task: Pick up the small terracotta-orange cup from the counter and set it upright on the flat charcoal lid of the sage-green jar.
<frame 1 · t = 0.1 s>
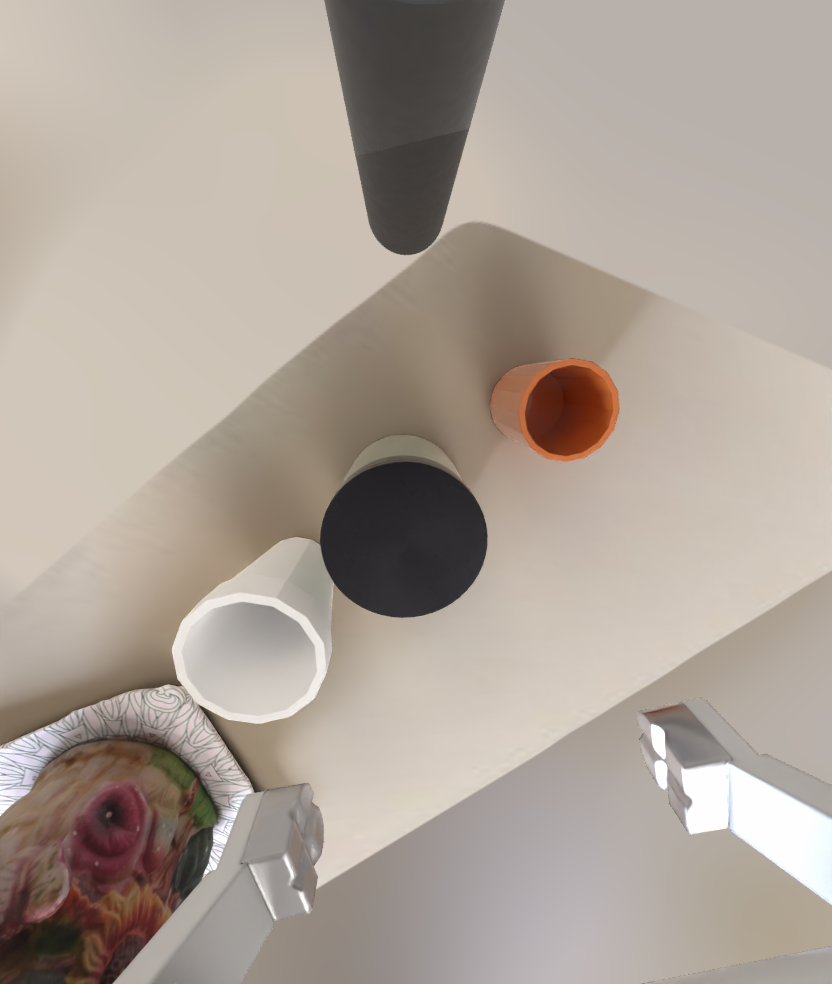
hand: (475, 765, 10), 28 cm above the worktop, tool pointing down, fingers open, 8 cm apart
jar lid: (404, 540, 26), point 12 cm above the worktop, screwed on, not yet turned
cup: (527, 403, 35), on the worktop
jar: (403, 491, 37), on the worktop
foam cup: (299, 568, 39), on the worktop
cookie jar: (140, 792, 45), on the worktop
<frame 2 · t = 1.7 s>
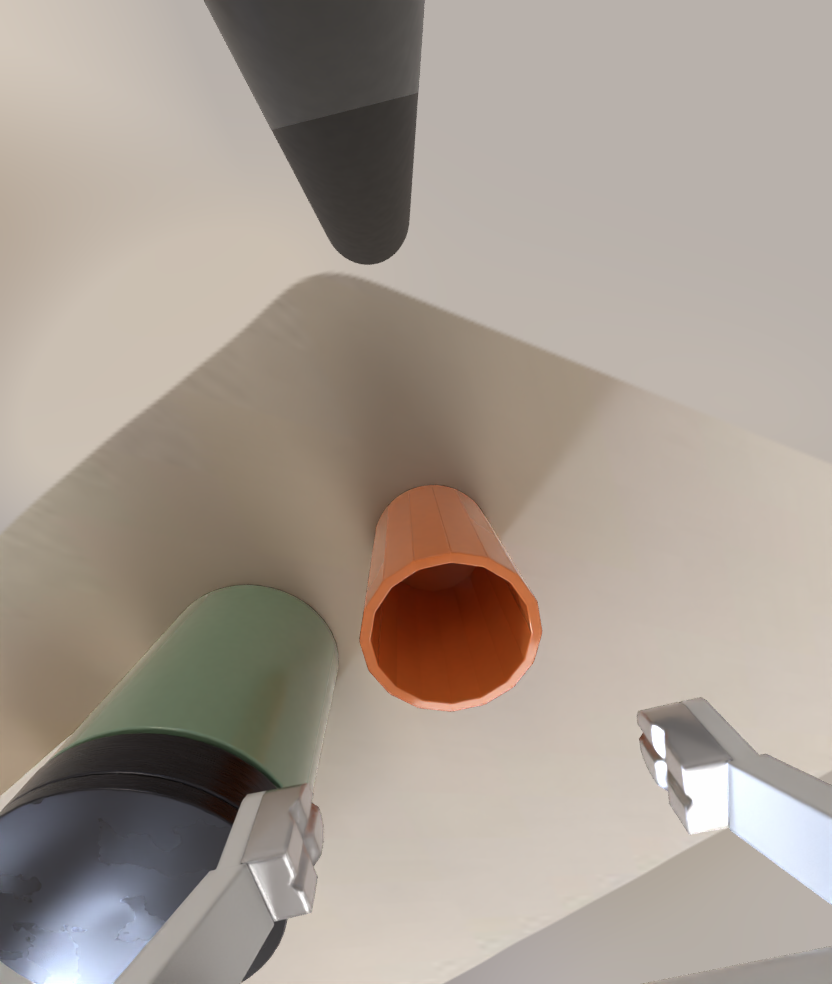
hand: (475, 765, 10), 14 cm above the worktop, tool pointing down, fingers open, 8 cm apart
jar lid: (137, 891, 14), point 12 cm above the worktop, screwed on, not yet turned
cup: (432, 539, 23), on the worktop
jar: (254, 659, 25), on the worktop
foam cup: (116, 758, 27), on the worktop
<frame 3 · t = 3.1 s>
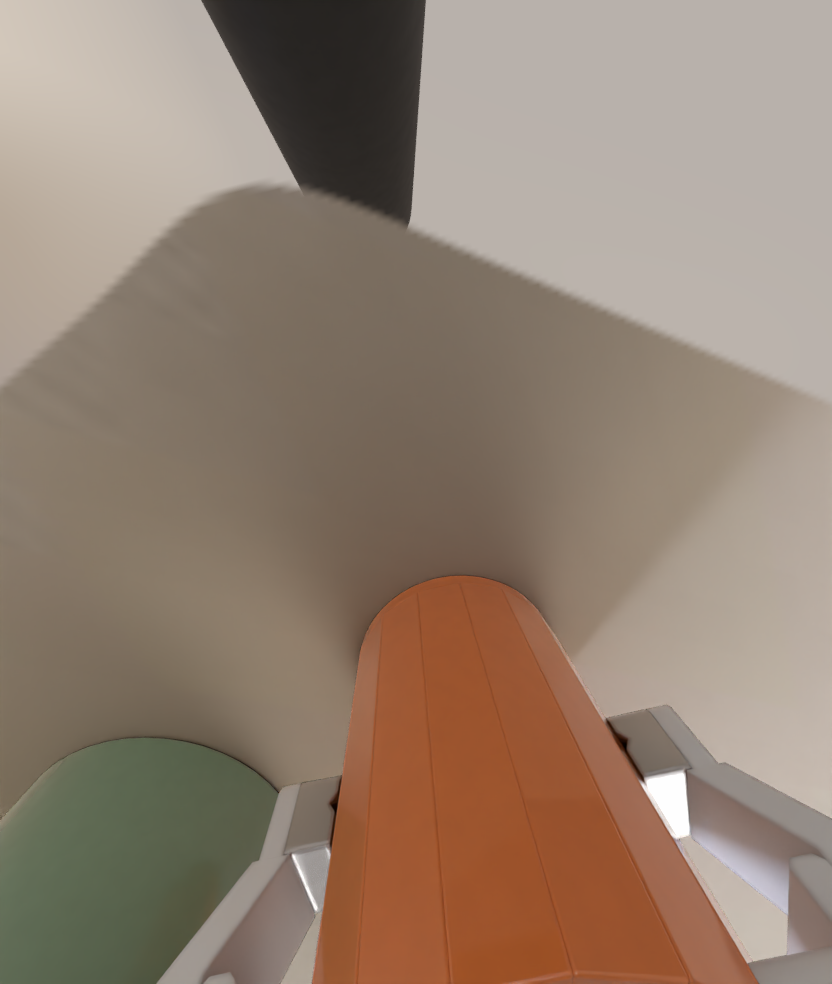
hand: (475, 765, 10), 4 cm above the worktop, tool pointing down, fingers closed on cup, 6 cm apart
cup: (457, 663, 14), on the worktop, touching gripper
jar: (163, 846, 15), on the worktop
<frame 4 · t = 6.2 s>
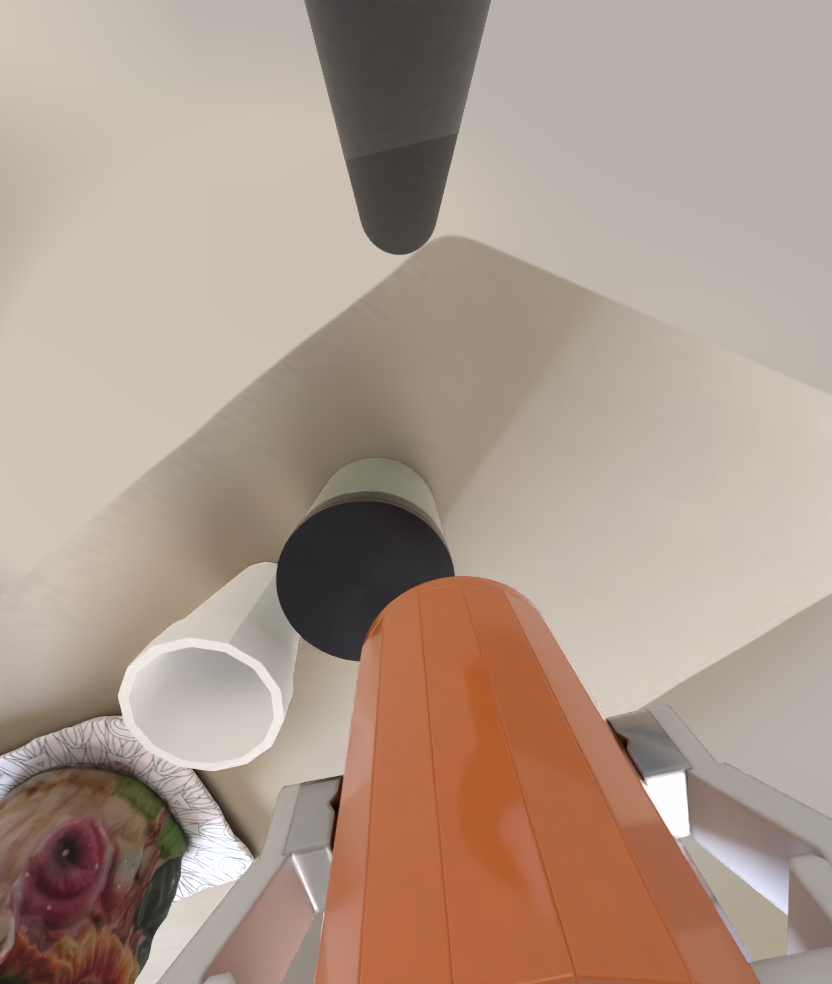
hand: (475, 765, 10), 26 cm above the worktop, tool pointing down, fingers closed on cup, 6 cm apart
jar lid: (366, 581, 24), point 12 cm above the worktop, screwed on, not yet turned
cup: (457, 663, 14), point 22 cm above the worktop, touching gripper
jar: (377, 515, 35), on the worktop
foam cup: (270, 593, 37), on the worktop
cookie jar: (108, 818, 43), on the worktop
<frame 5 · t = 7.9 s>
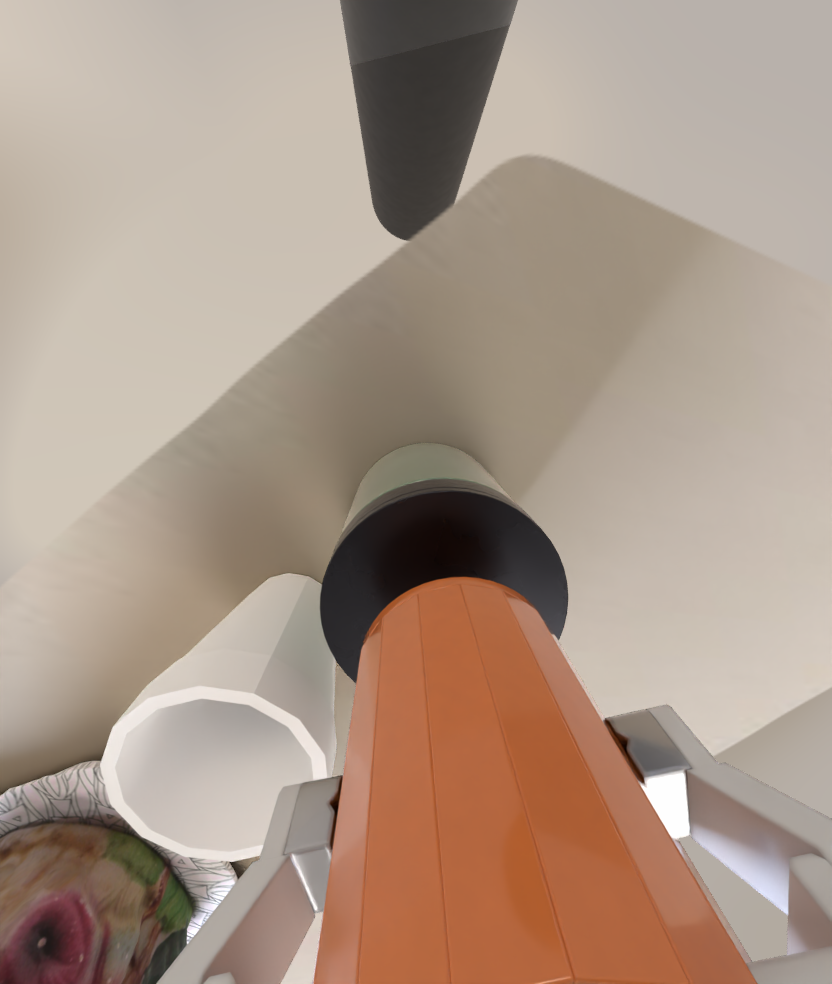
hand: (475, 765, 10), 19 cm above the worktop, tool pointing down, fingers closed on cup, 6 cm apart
jar lid: (443, 604, 17), point 12 cm above the worktop, screwed on, not yet turned
cup: (457, 664, 14), point 15 cm above the worktop, touching gripper
jar: (426, 515, 29), on the worktop
foam cup: (293, 611, 30), on the worktop
cookie jar: (100, 878, 37), on the worktop
when the fingers open (16 cm above the worktop, at t = 9.3 s): cup stays where it is, resting on jar lid.
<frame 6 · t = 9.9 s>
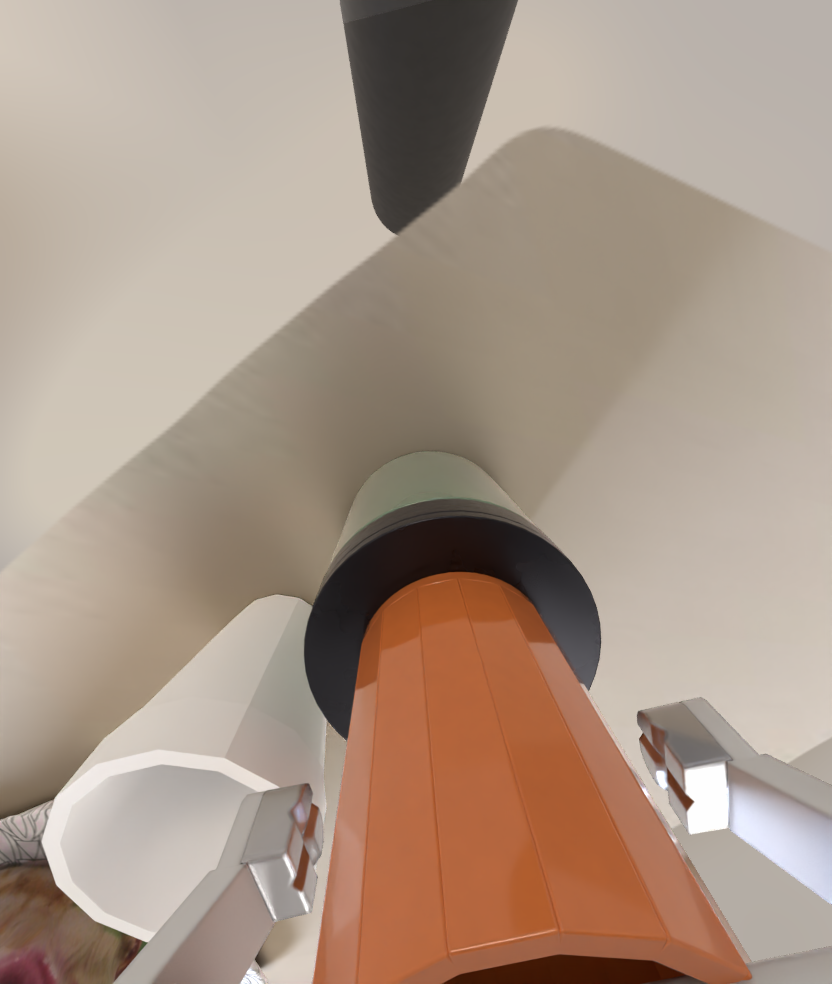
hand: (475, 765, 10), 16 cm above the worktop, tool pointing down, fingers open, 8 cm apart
jar lid: (452, 648, 15), point 12 cm above the worktop, screwed on, not yet turned, touching cup
cup: (455, 657, 14), point 12 cm above the worktop, touching jar lid
jar: (429, 530, 26), on the worktop
foam cup: (283, 636, 28), on the worktop
cookie jar: (74, 921, 34), on the worktop
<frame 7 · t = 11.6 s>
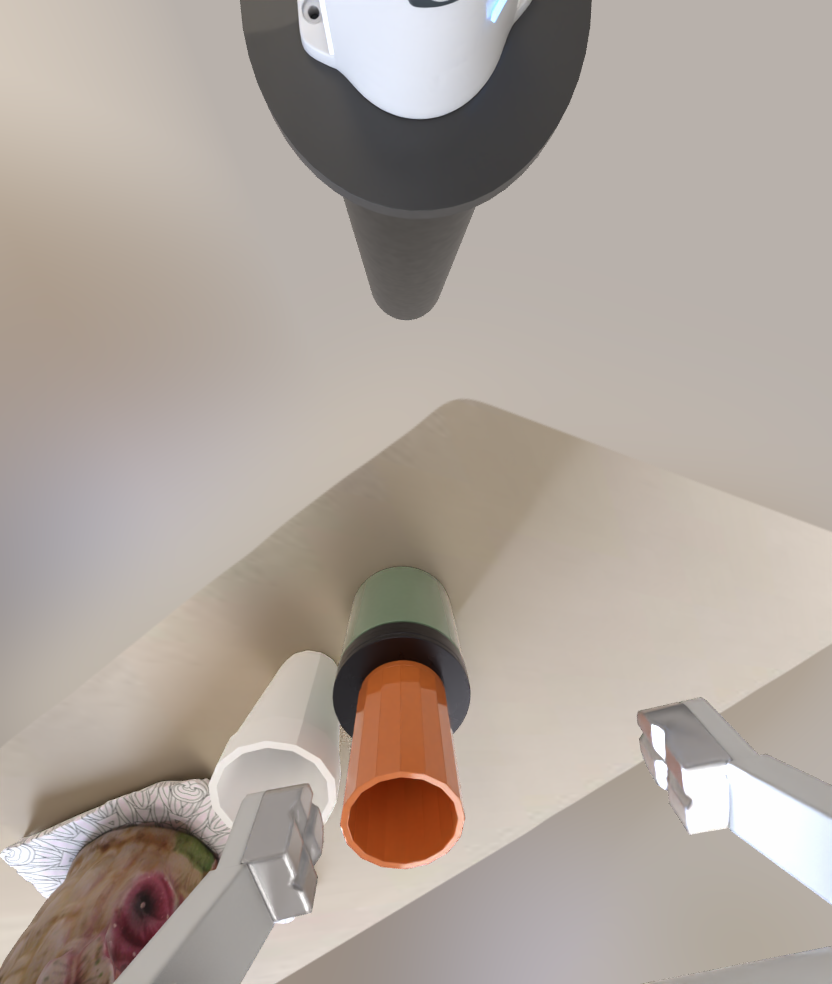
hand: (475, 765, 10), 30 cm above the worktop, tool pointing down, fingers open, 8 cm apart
jar lid: (401, 693, 31), point 12 cm above the worktop, screwed on, not yet turned, touching cup
cup: (402, 698, 30), point 12 cm above the worktop, touching jar lid
jar: (401, 612, 42), on the worktop
foam cup: (310, 675, 44), on the worktop
cookie jar: (164, 869, 49), on the worktop
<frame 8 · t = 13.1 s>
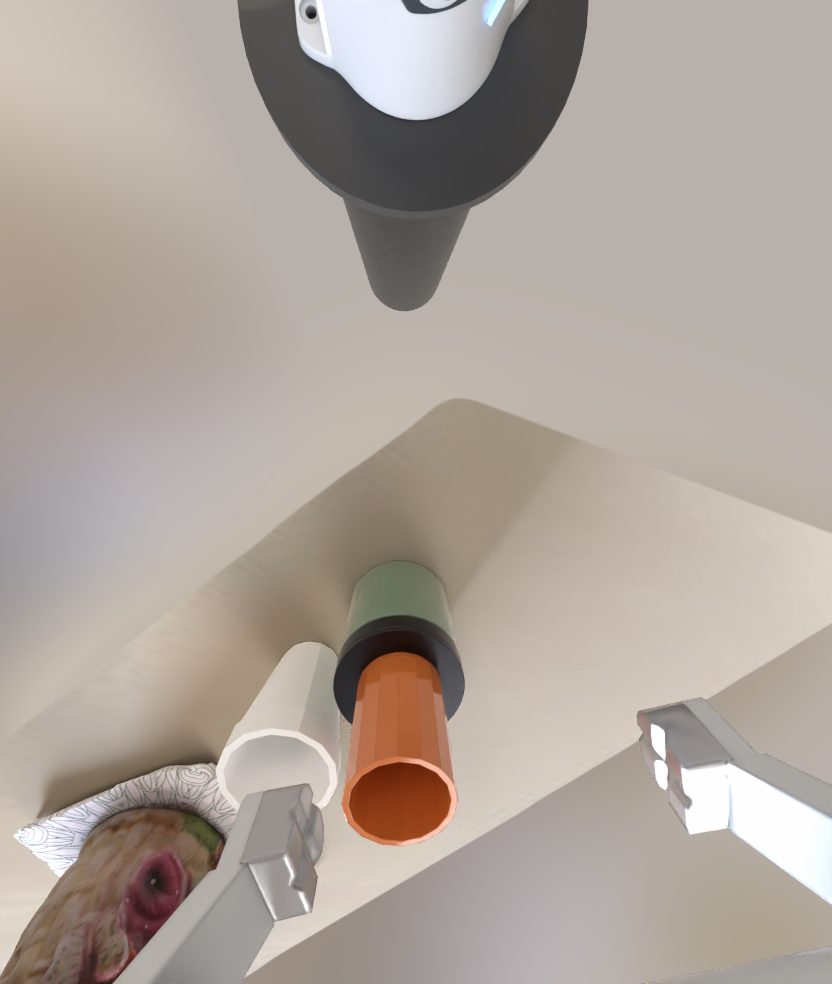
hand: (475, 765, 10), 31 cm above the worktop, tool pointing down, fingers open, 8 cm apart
jar lid: (399, 683, 32), point 12 cm above the worktop, screwed on, not yet turned, touching cup
cup: (399, 687, 32), point 12 cm above the worktop, touching jar lid
jar: (399, 604, 44), on the worktop
foam cup: (311, 665, 45), on the worktop
cookie jar: (172, 848, 52), on the worktop
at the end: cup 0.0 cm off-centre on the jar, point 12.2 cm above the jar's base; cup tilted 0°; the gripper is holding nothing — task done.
